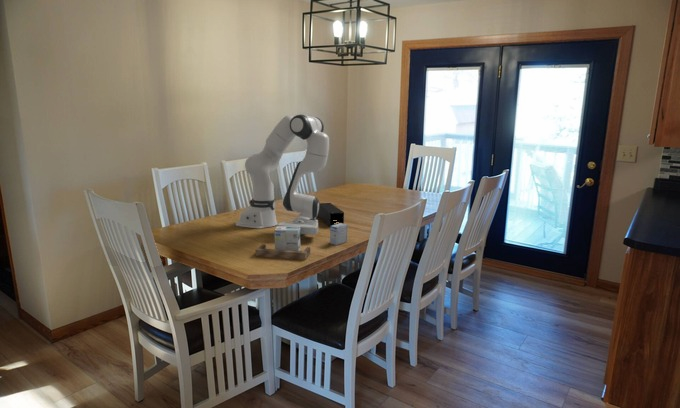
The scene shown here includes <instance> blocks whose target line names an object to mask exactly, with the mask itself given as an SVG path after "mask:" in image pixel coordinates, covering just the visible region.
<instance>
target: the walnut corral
mask: <svg viewBox="0 0 680 408" xmlns="http://www.w3.org/2000/svg"><path fill="white" fill-rule="evenodd" d="M266 247H267V246H266V244H263V243H262V244H261V245H260V246H258V247H257V248H256V249H255V256H256V257H259V258H261V257H262V258H273V259H274V258H275V259H285V260H286V259H288V260H300V261H305V260H307V259H308V258H309V257H310V255H311V247H309V246H307V247H305V249H304V250H303V251H301V250H300V251H289V250H275V248H273V249H272V248H266Z"/></svg>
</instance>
